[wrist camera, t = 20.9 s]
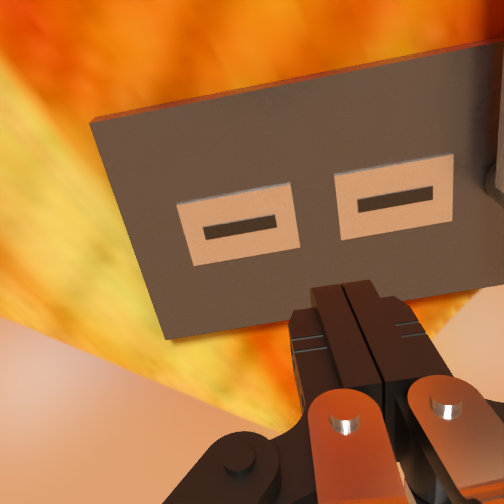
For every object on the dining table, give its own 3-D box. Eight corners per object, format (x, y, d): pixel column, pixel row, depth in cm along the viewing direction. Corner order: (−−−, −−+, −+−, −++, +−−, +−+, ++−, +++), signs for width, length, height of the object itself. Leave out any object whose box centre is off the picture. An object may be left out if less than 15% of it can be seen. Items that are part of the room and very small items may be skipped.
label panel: (167, 328, 41) (165, 342, 39) (95, 117, 32) (87, 124, 30) (505, 272, 39) (516, 284, 37) (525, 31, 30) (541, 34, 29)
